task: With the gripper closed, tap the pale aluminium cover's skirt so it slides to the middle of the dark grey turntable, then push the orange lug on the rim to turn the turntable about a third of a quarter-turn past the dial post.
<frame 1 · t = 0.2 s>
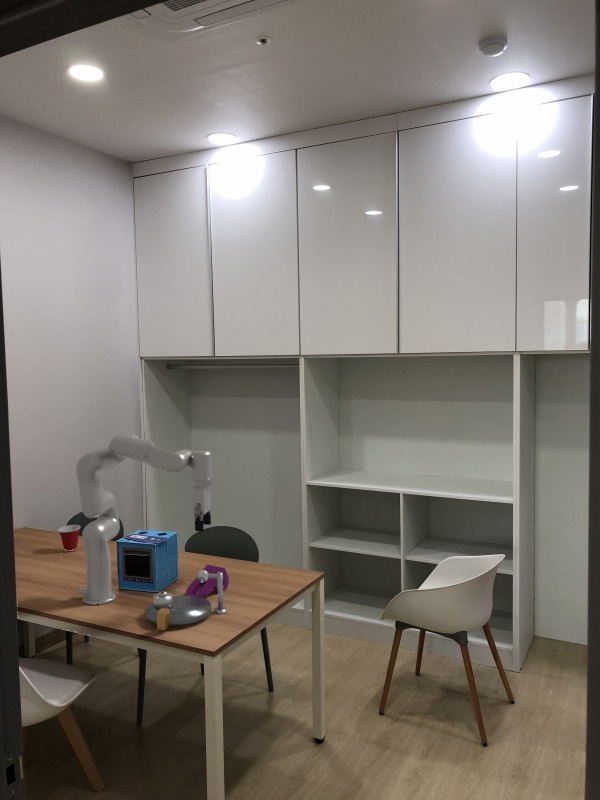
hand: (203, 527, 245), 31 cm above the table, tool pointing down, fingers open, 9 cm apart
plastic cup: (70, 551, 324), on the table
mounting bracket: (205, 594, 261), on the table
cover: (163, 606, 239), point 3 cm above the table, touching turntable
turntable: (176, 606, 236), point 4 cm above the table, hinge at 0.0°, touching cover
dial post: (220, 611, 242), on the table
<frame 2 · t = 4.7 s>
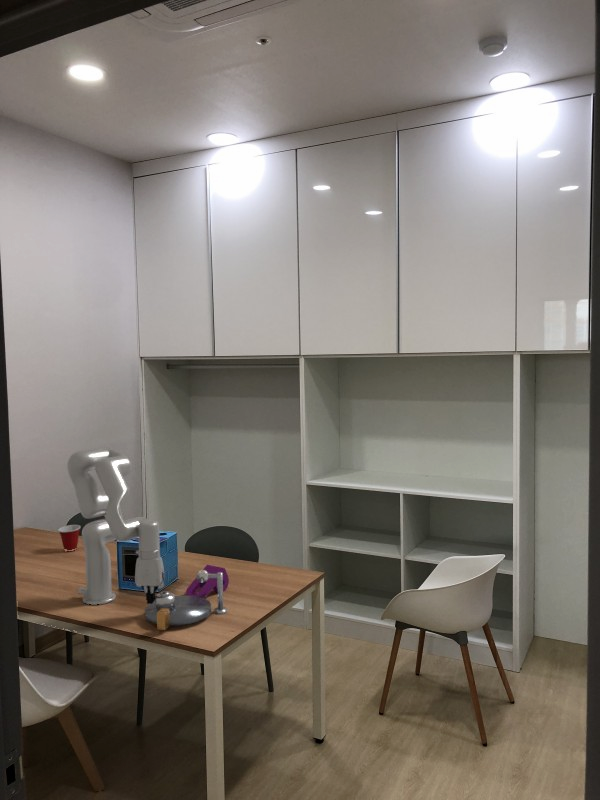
hand: (150, 602, 240), 5 cm above the table, tool pointing down, fingers closed
cover: (165, 606, 239), point 3 cm above the table, touching gripper
turntable: (176, 606, 236), point 4 cm above the table, hinge at -0.1°
everything else where it was.
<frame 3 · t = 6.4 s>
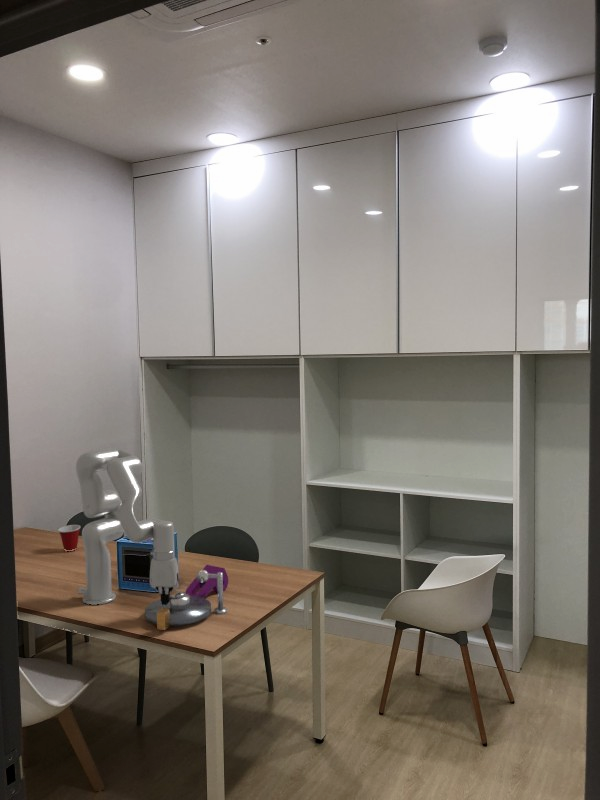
hand: (165, 603, 238), 5 cm above the table, tool pointing down, fingers closed
cover: (180, 607, 237), point 3 cm above the table, touching gripper, turntable
turntable: (176, 606, 236), point 4 cm above the table, hinge at -0.1°, touching cover
everything else where it was.
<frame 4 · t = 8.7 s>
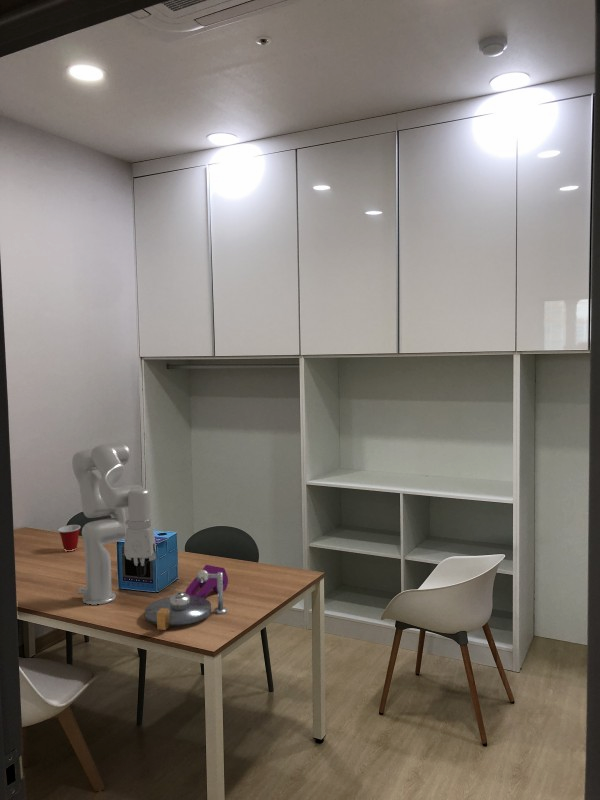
hand: (141, 575, 225), 19 cm above the table, tool pointing down, fingers closed
cover: (180, 607, 237), point 3 cm above the table, touching turntable
everything else where it was.
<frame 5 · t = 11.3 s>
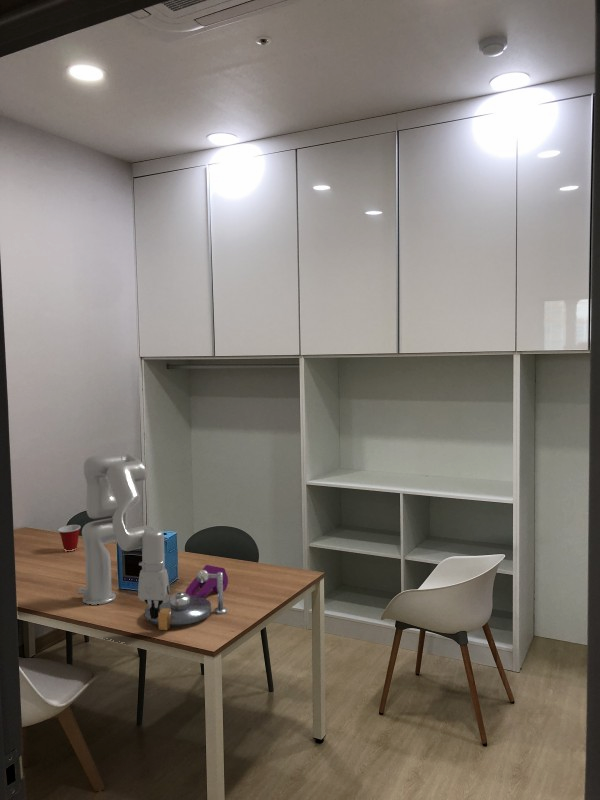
hand: (154, 617, 225), 5 cm above the table, tool pointing down, fingers closed
turntable: (176, 606, 236), point 4 cm above the table, hinge at 2.2°, touching cover, gripper
everything else where it was.
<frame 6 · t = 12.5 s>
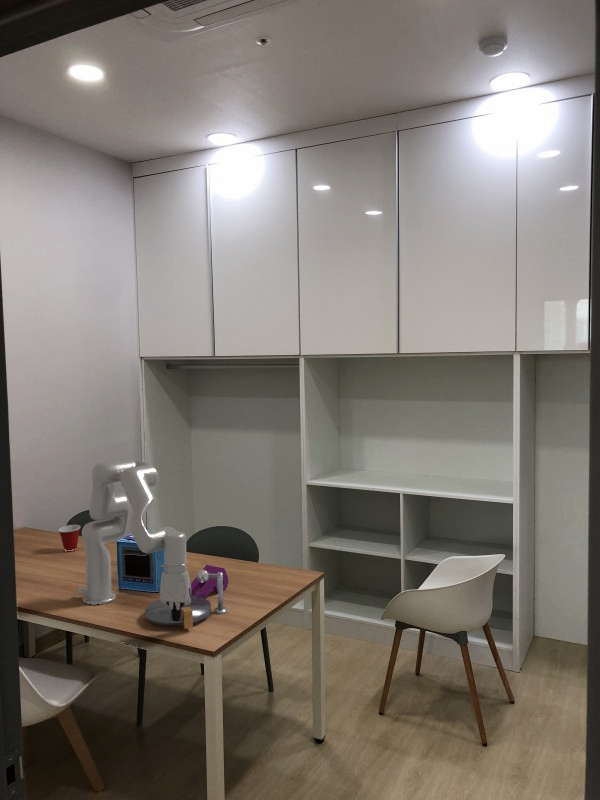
hand: (176, 619, 223), 4 cm above the table, tool pointing down, fingers closed
turntable: (179, 606, 236), point 4 cm above the table, hinge at 35.2°, touching cover, gripper
everything else where it was.
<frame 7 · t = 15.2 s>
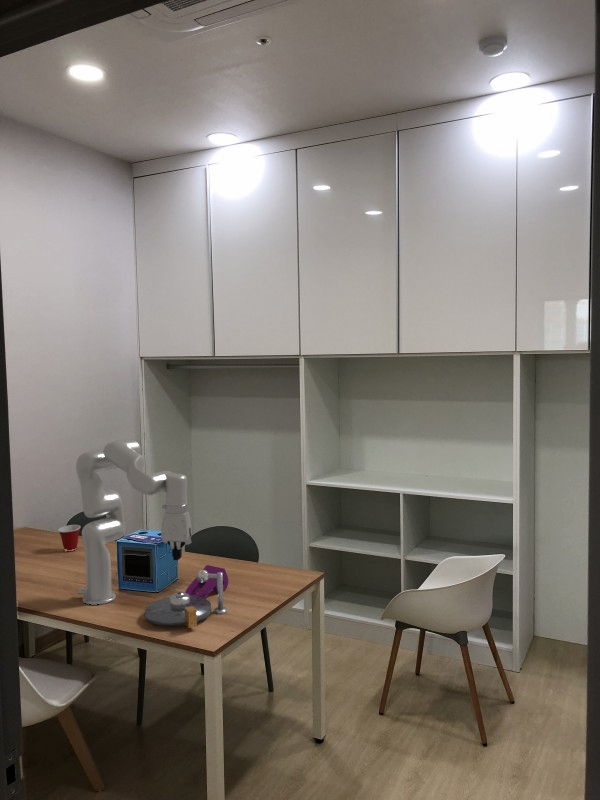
hand: (177, 559, 231), 23 cm above the table, tool pointing down, fingers closed
turntable: (179, 606, 236), point 4 cm above the table, hinge at 40.8°, touching cover
everything else where it was.
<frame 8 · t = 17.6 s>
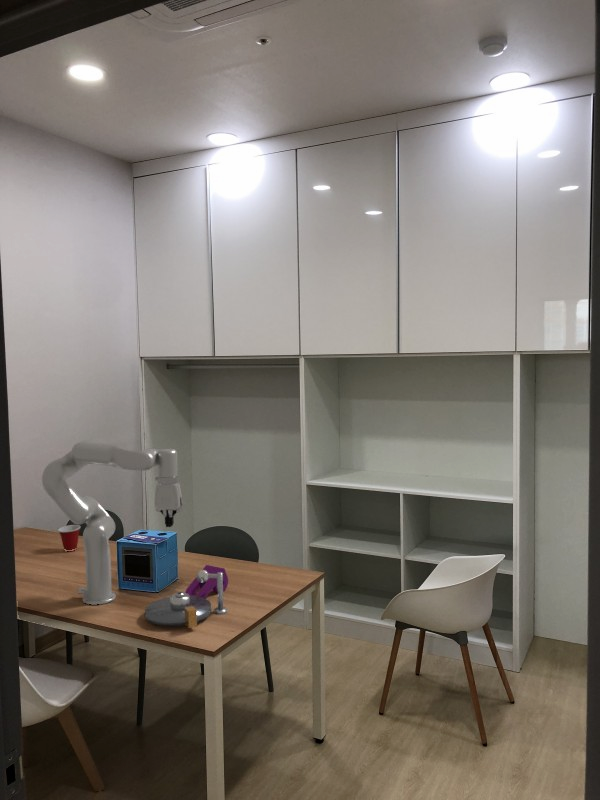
hand: (169, 526, 255), 29 cm above the table, tool pointing down, fingers closed
nothing on the table moved.
at the end: cover 0.7 cm from the turntable (horizontally); turntable at +41° (first picture: +0°); cover tilted 0° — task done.
